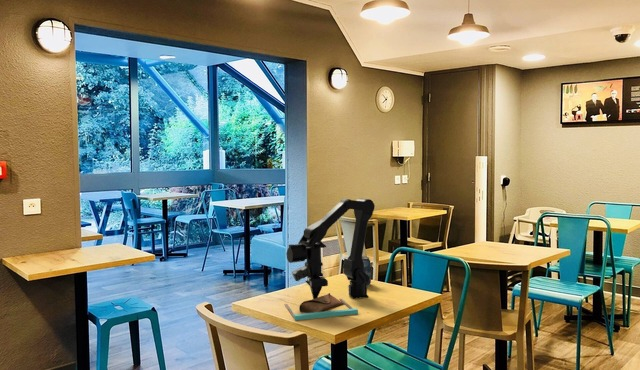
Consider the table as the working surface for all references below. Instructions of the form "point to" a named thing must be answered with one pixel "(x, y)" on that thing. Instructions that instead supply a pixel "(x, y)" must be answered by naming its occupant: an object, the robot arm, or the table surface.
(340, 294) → the table surface
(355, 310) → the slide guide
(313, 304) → the sunglasses case
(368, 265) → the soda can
